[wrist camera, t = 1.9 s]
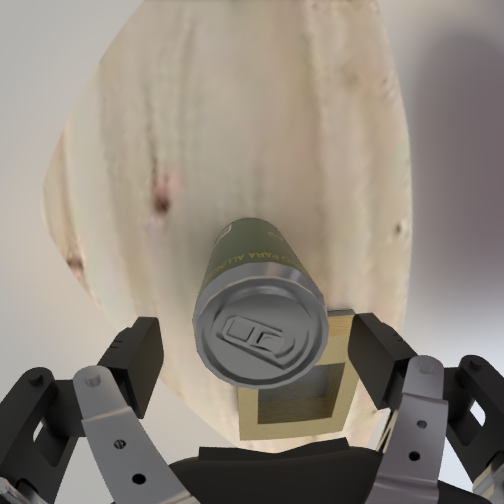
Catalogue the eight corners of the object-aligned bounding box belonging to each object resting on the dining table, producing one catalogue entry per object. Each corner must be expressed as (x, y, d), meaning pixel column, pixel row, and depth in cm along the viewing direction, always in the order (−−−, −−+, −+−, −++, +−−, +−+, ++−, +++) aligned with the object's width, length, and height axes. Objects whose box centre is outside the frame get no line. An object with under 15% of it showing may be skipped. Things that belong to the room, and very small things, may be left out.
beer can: (203, 268, 22) (170, 367, 10) (232, 204, 20) (223, 244, 9) (266, 295, 22) (291, 405, 11) (297, 234, 21) (361, 304, 10)
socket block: (236, 314, 23) (236, 341, 19) (352, 309, 23) (370, 332, 19) (239, 411, 26) (239, 440, 22) (332, 404, 26) (341, 430, 22)
